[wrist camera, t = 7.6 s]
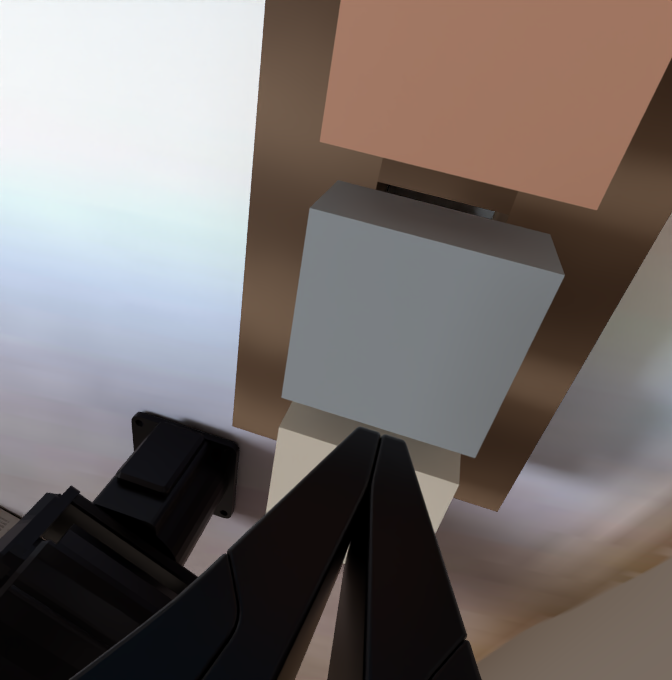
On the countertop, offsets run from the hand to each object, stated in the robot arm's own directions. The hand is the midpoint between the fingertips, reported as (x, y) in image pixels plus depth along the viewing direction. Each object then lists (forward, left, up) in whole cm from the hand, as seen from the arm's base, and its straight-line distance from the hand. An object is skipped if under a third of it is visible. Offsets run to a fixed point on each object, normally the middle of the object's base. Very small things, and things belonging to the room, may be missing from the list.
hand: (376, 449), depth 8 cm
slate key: (0, 0, -9) cm, 9 cm away
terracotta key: (+7, 0, -9) cm, 11 cm away
